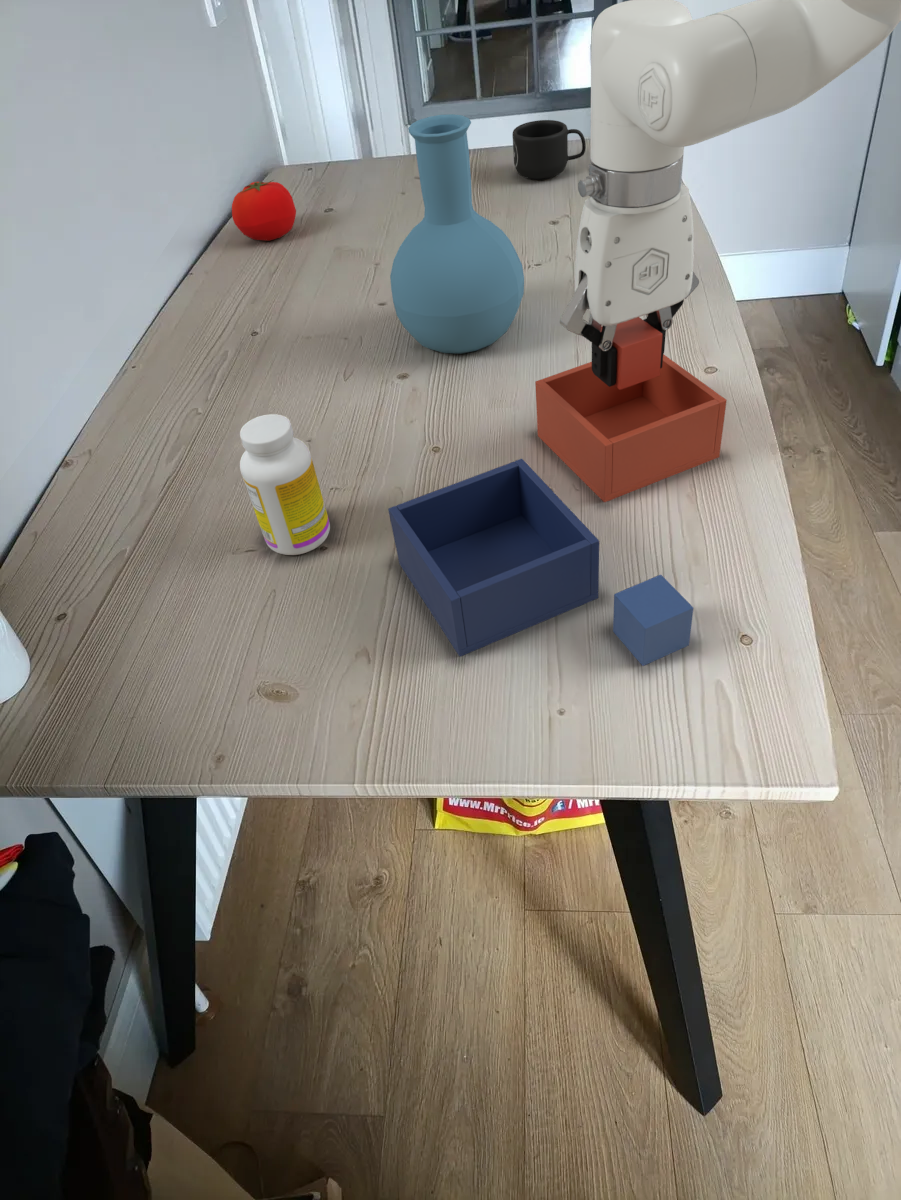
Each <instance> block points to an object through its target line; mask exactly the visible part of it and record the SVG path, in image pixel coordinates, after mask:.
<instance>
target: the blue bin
mask: <svg viewBox="0 0 901 1200" xmlns="http://www.w3.org/2000/svg"><path fill="white" fill-rule="evenodd" d="M387 510H388V514H389V515H388V516H389V520H390V525H391V530H392V535H393V540H394V545H395V549H396V554H397V559H398V564H399V566H400V567H401V569H402V570H403V572H404V573H405V575H406V577H407V578H408V580H409V581H410V582H411V584H412V586H413V587H414V588H415V590H416V592H417V594H418V595H419V597H420V598H421V599H422V601H423V603H424V604H425V606H426V607H427V609H428V610H429V612H430V613H431V615H432V616H433V619H434V620H435V621H436V623H437V624H438V626H439V627H440V629H441V630H442V632H443V633H444V635H445V637H446V638H447V640H448V641H449V643H450V644H451V646H452V648H453V649H454V650H455V652H456V654H457V655H458V656H459V657H463V656H465V655H467V654H470V653H472V652H474V651H477V650H479V649H481V648H482V649H483V648H485V647H486V646H489V645H491V644H493V643H496V642H499V641H501V640H503V639H506V638H508V637H510V636H512V635H515V634H518V633H519V632H522V631H524V630H526V629H529V628H531V627H535V626H536V625H538V624H540V623H543V622H545V621H548V620H550V619H552V618H555V617H557V616H559V615H562V614H564V613H567V612H569V611H571V610H574V609H577V608H578V607H581V606H583V605H585V604H588V603H591V602H592V601H596V600H597V599H599V588H600V587H599V586H600V584H599V581H600V540H599V538H598V537H597V536H596V535H595V534H594V533H592V531H591V530H590V529H589V528H588V526H586V525H585V524H584V523H583V521H581V519H580V518H578V516H577V515H576V514H575V513H574V512H573V511H572V510H571V509H570V508H569V507H568V506H567V505H566V503H565V502H564V501H562V499H561V498H560V497H559V496H558V495H557V494H556V493H555V492H554V490H552V489H551V488H550V486H548V484H546V482H545V481H544V480H543V479H542V478H541V477H540V475H538V474H537V473H536V472H535V470H533V468H532V467H531V466H530V465H528V463H527V462H526V461H525V460H524V459H523V458H520V459H519V458H518V459H517V460H514V461H511V462H509V463H506V464H504V465H503V464H502V465H501V466H498V467H495V468H492V469H490V470H488V471H485V472H482V473H479V474H477V475H473V476H472V477H469V478H466V479H464V480H461V481H460V480H459V481H458V482H455V483H453V484H450V485H448V486H445V487H442V488H439V489H436V490H434V491H431V492H428V493H425V494H423V495H420V496H417V497H415V498H413V499H412V498H411V499H409V500H407V501H404V502H402V503H399V504H397V505H394V506H390V507H389V508H387Z"/></svg>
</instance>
